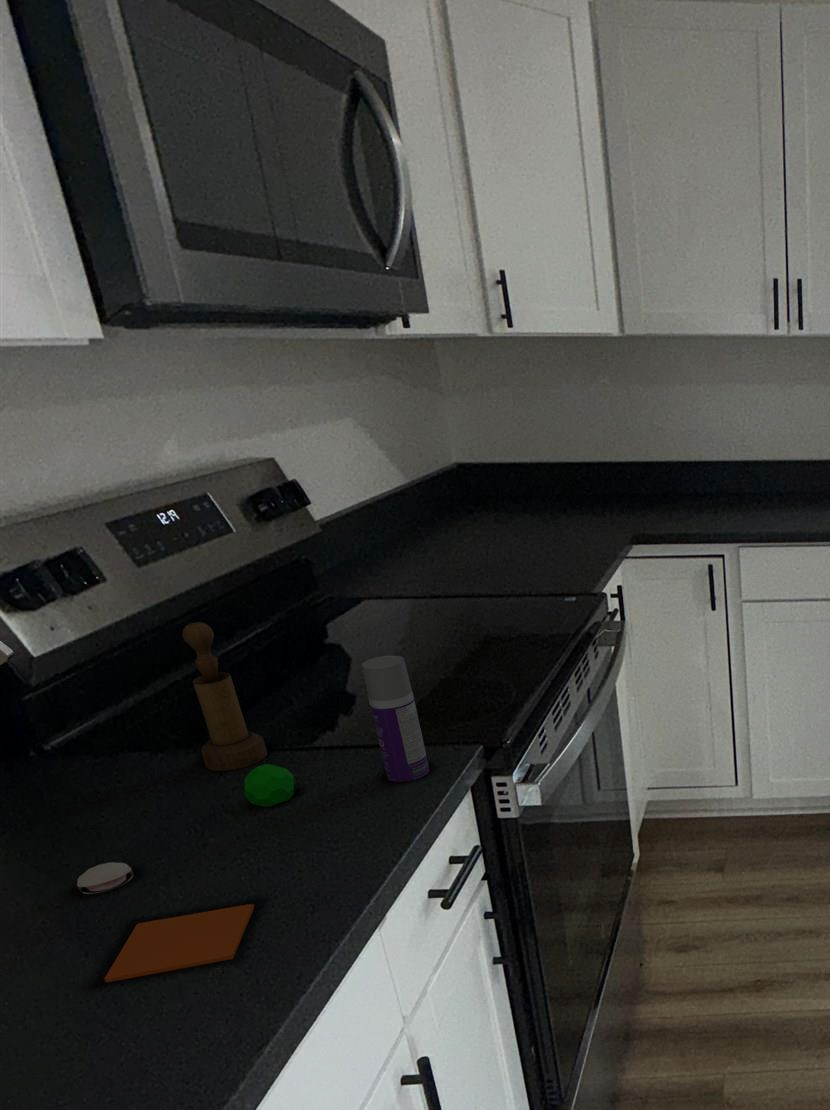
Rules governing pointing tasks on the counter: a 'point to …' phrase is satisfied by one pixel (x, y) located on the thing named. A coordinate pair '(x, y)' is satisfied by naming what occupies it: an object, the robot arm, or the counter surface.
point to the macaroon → (104, 877)
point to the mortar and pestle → (221, 709)
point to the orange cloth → (181, 942)
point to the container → (395, 718)
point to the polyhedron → (269, 785)
